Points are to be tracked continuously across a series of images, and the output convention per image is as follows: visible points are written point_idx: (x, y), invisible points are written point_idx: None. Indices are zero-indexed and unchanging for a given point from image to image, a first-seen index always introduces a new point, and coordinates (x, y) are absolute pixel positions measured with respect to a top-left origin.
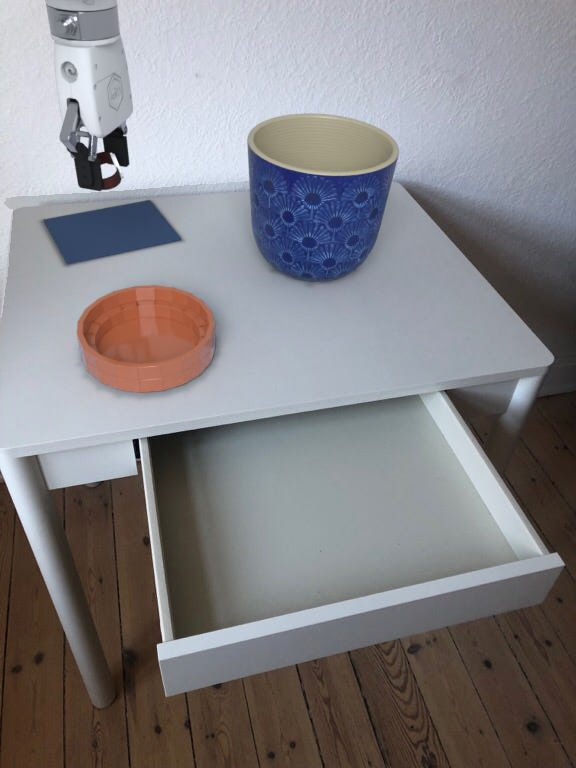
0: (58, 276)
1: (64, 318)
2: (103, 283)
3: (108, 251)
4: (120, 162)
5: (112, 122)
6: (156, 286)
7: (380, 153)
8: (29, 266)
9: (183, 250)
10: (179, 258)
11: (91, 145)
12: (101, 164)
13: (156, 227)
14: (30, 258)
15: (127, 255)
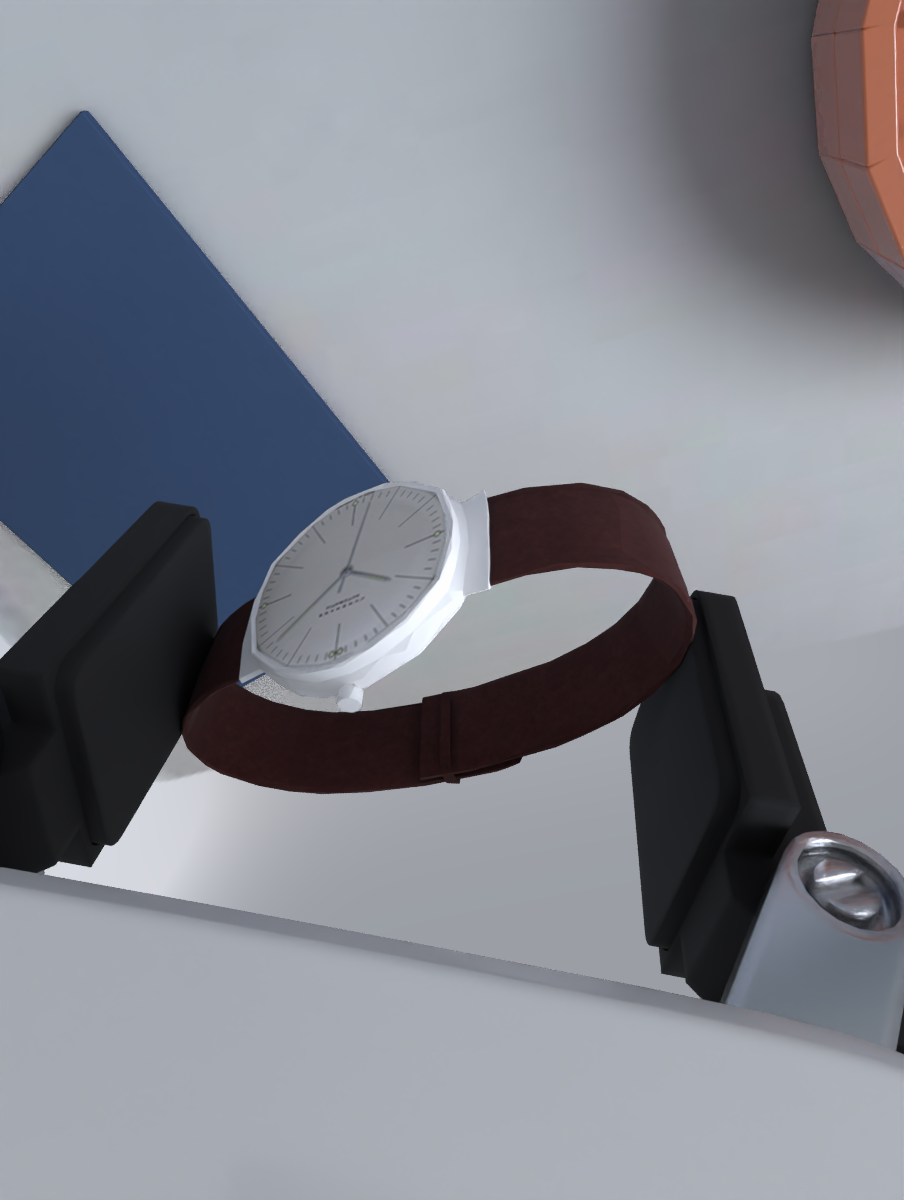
0: None
1: (831, 469)
2: (563, 392)
3: (333, 440)
4: (198, 575)
5: (569, 1170)
6: (881, 7)
7: None
8: (494, 668)
9: (176, 61)
10: (260, 62)
11: (890, 1032)
12: (241, 689)
13: (52, 280)
14: (444, 678)
15: (321, 353)
